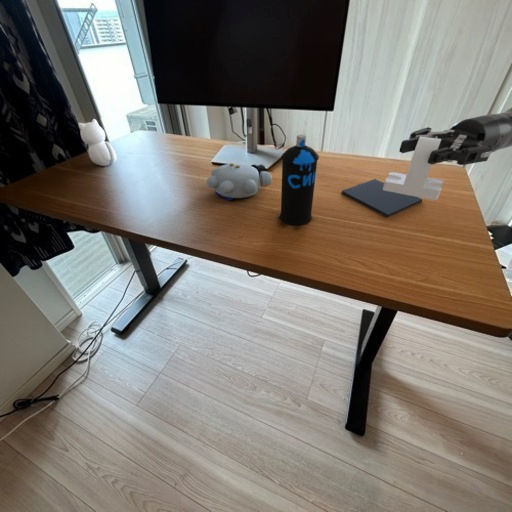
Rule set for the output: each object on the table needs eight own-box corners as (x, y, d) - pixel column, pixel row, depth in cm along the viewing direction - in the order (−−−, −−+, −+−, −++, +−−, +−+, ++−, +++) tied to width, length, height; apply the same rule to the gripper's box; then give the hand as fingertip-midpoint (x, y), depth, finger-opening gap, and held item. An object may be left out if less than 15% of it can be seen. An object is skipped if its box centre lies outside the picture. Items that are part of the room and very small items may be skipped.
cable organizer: (436, 200, 51) (460, 146, 44) (382, 190, 55) (396, 139, 49) (439, 189, 54) (462, 137, 48) (387, 180, 58) (401, 131, 52)
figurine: (237, 210, 72) (282, 191, 84) (236, 179, 67) (285, 163, 79) (196, 192, 81) (243, 177, 93) (194, 163, 76) (243, 151, 88)
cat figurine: (106, 157, 109) (90, 116, 99) (128, 161, 104) (113, 119, 94) (86, 165, 103) (67, 122, 93) (108, 170, 98) (91, 126, 88)
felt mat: (421, 201, 73) (422, 199, 73) (387, 217, 68) (388, 214, 67) (374, 181, 84) (374, 178, 83) (341, 193, 79) (341, 190, 78)
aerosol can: (275, 212, 72) (276, 133, 59) (303, 206, 73) (310, 128, 60) (287, 228, 66) (291, 144, 53) (317, 222, 67) (328, 139, 54)
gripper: (453, 108, 56) (391, 121, 51) (531, 124, 46) (462, 142, 41) (439, 145, 61) (381, 160, 56) (506, 167, 51) (442, 187, 46)
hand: (416, 152), depth 49 cm, fingers closed on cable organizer, 5 cm apart
